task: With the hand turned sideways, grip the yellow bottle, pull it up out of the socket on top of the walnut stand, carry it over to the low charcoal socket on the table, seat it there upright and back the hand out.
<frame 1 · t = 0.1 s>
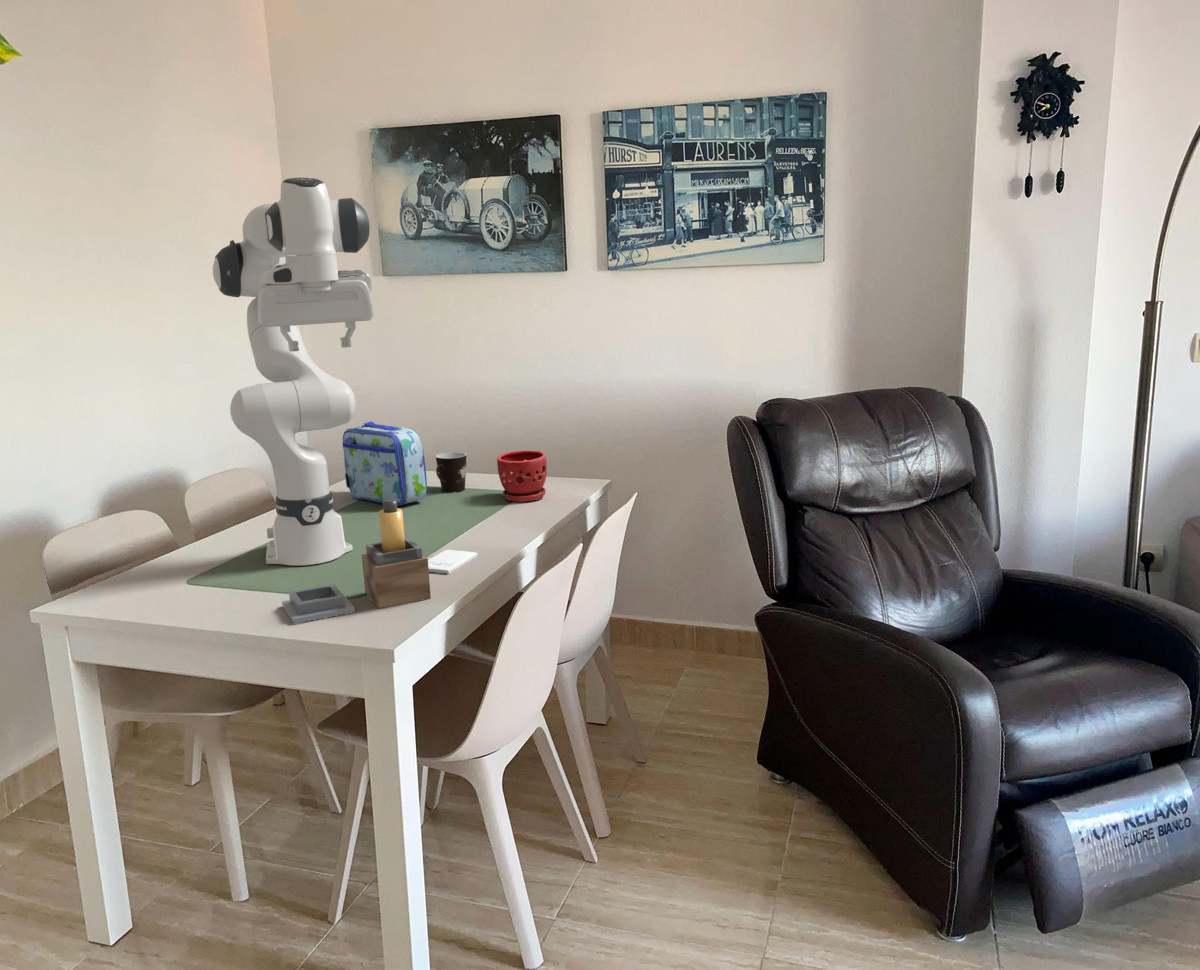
hand: (320, 349, 177), 48 cm above the table, tool pointing down, fingers open, 8 cm apart
lunch box: (386, 501, 263), on the table
external hard drive: (447, 567, 206), on the table
low socket: (318, 609, 181), on the table
coffee mug: (449, 491, 271), on the table
plant pot: (523, 499, 260), on the table
yellow bottle: (394, 556, 185), point 8 cm above the table, touching walnut stand
walnut stand: (397, 595, 187), on the table
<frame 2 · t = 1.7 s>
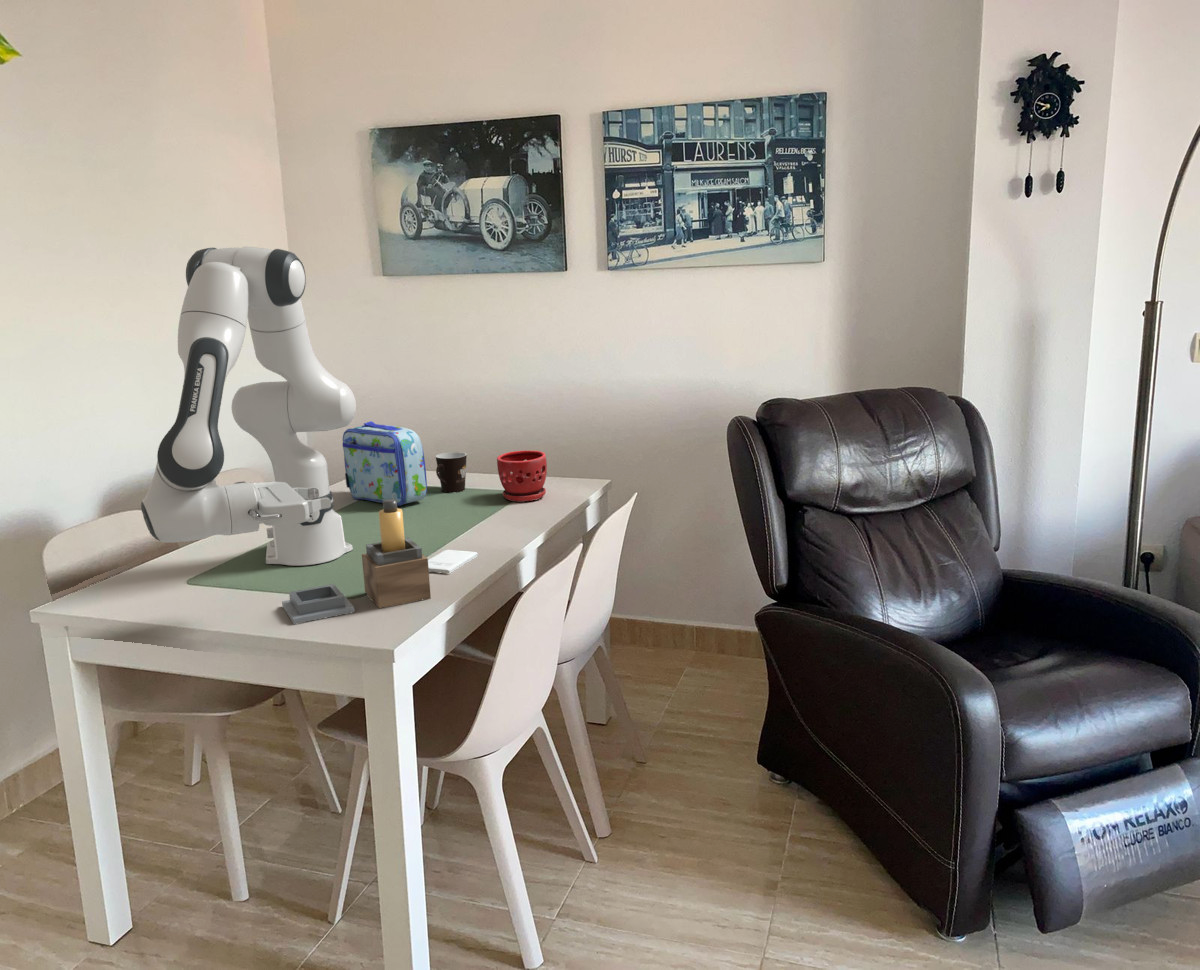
hand: (323, 497, 177), 22 cm above the table, tool horizontal, fingers open, 8 cm apart
nothing on the table moved.
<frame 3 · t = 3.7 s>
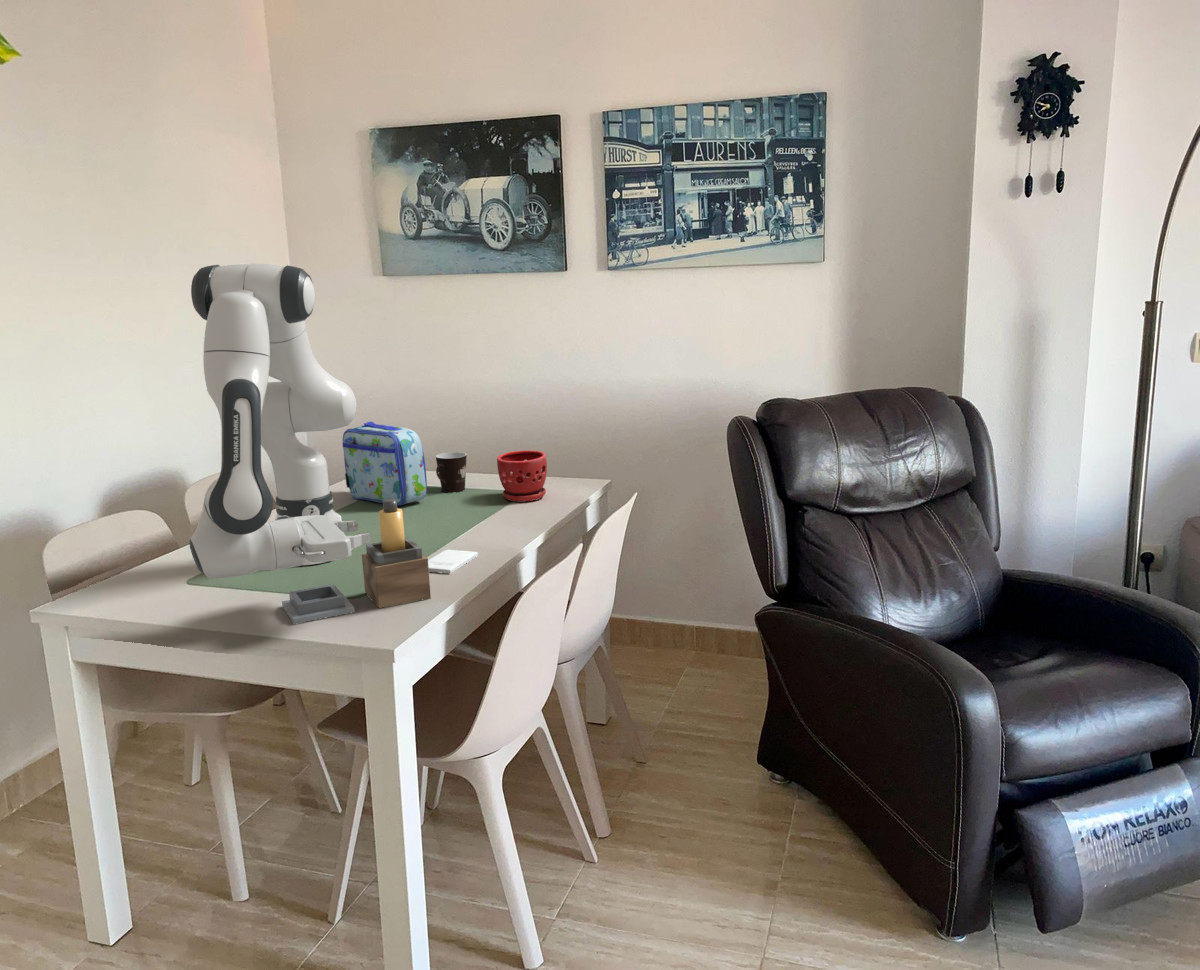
hand: (363, 531, 182), 14 cm above the table, tool horizontal, fingers open, 8 cm apart
nothing on the table moved.
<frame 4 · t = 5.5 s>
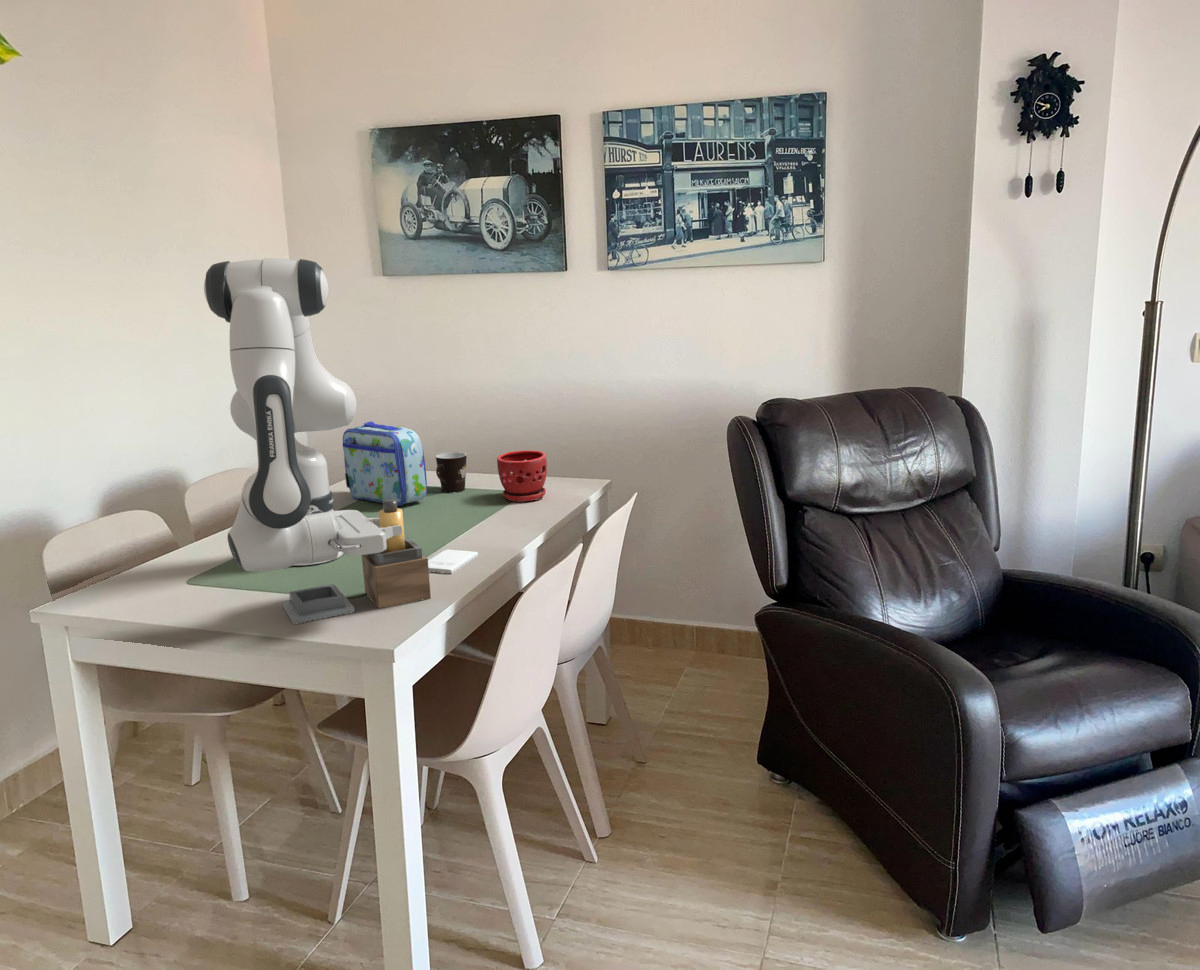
hand: (396, 525, 184), 14 cm above the table, tool horizontal, fingers closed on yellow bottle, 4 cm apart
yellow bottle: (394, 556, 185), point 8 cm above the table, touching gripper, walnut stand
everything else where it was.
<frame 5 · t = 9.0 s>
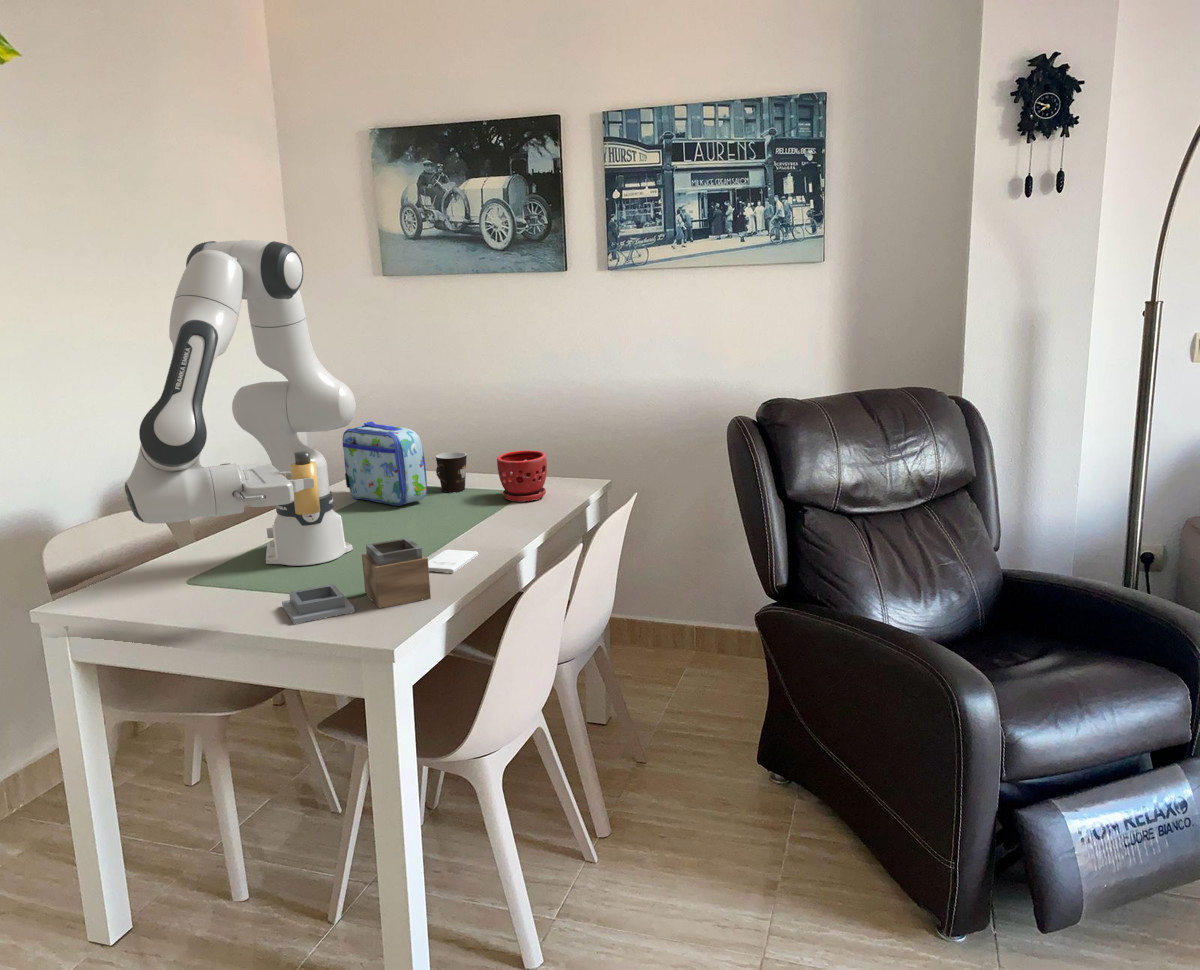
hand: (309, 479, 176), 25 cm above the table, tool horizontal, fingers closed on yellow bottle, 4 cm apart
yellow bottle: (307, 511, 177), point 19 cm above the table, touching gripper
everything else where it was.
when the fingers open (8 cm above the table, at t = 12.3 s): yellow bottle stays where it is, resting on low socket.
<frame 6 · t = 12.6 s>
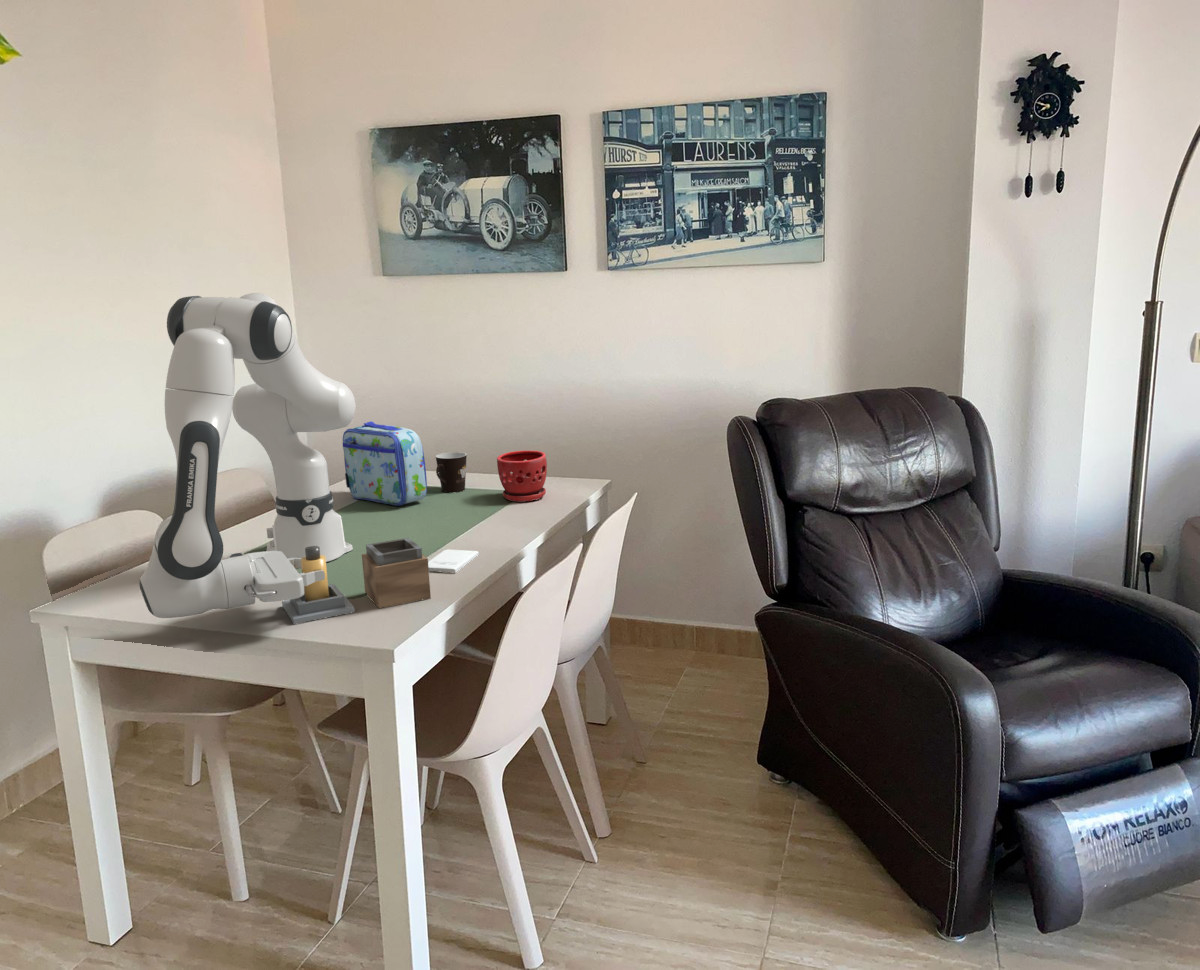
hand: (318, 567, 180), 8 cm above the table, tool horizontal, fingers open, 7 cm apart
yellow bottle: (317, 604, 181), point 1 cm above the table, touching low socket
everything else where it was.
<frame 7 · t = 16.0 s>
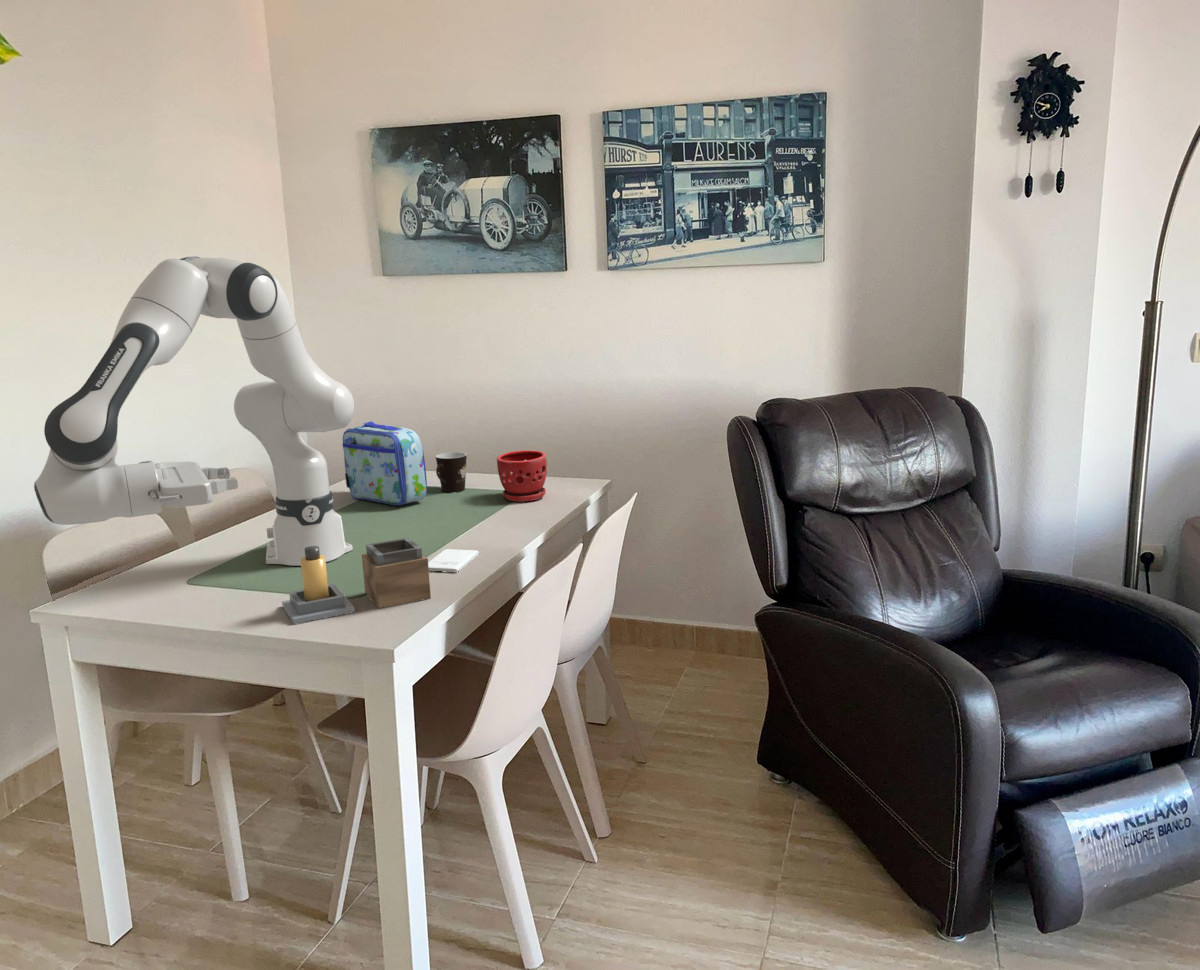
hand: (233, 477, 170), 27 cm above the table, tool horizontal, fingers open, 8 cm apart
nothing on the table moved.
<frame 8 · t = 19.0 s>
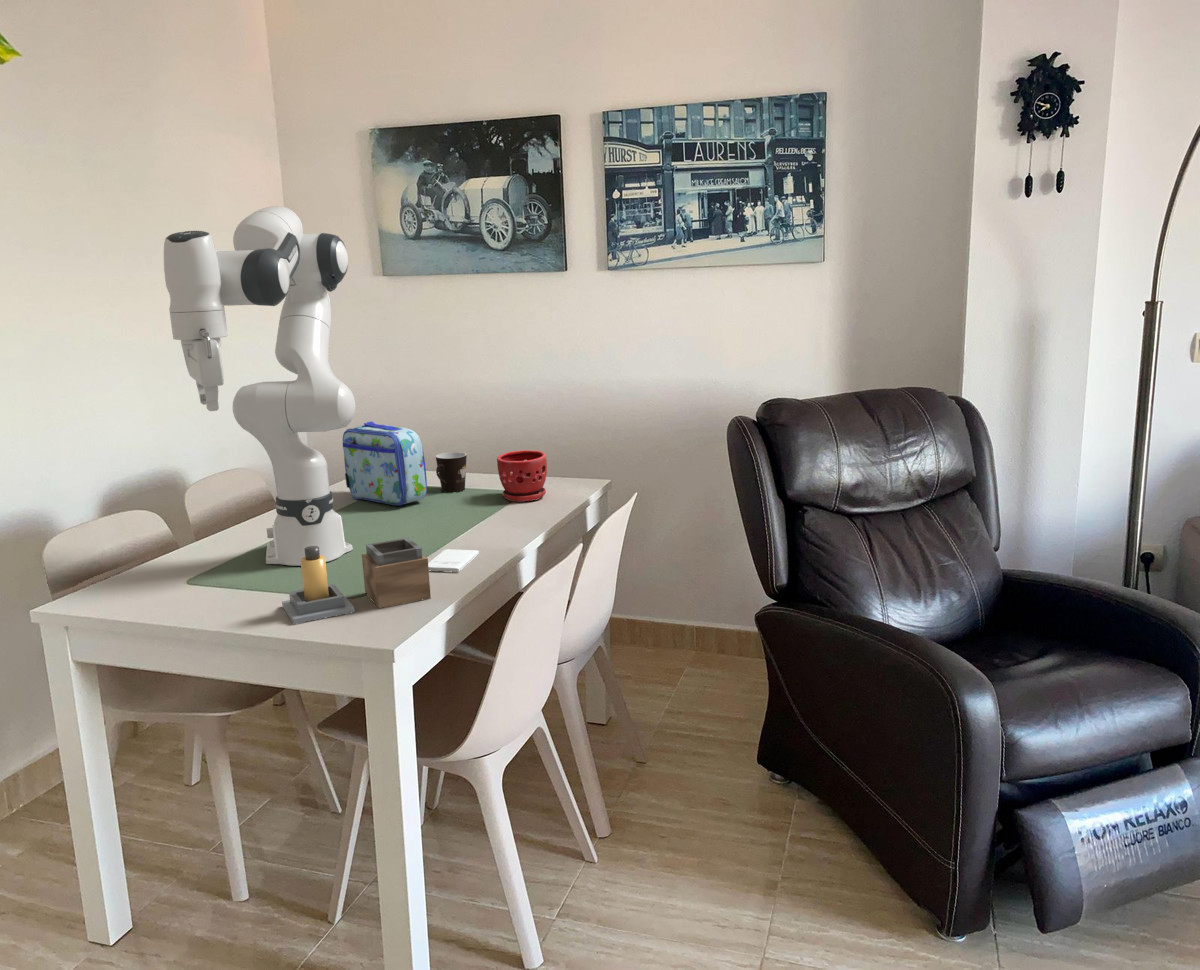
hand: (209, 407, 170), 39 cm above the table, tool pointing down, fingers open, 8 cm apart
at the end: yellow bottle 0.1 cm off-centre on the low socket, point 1.0 cm above the low socket's base; yellow bottle tilted 0°; the gripper is holding nothing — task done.
